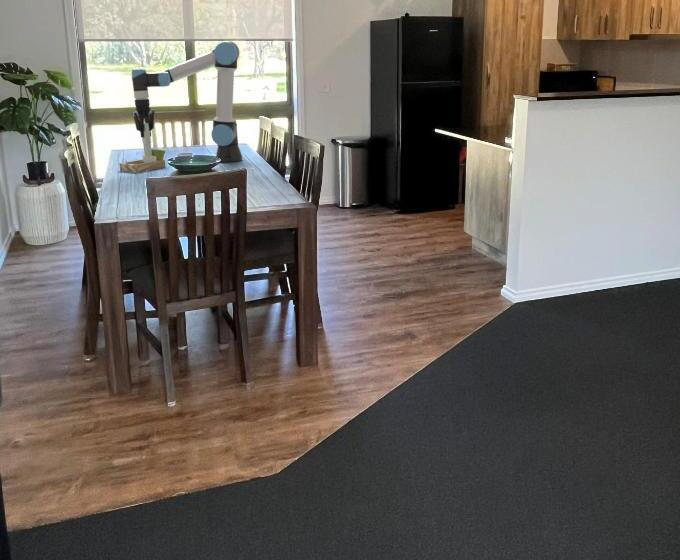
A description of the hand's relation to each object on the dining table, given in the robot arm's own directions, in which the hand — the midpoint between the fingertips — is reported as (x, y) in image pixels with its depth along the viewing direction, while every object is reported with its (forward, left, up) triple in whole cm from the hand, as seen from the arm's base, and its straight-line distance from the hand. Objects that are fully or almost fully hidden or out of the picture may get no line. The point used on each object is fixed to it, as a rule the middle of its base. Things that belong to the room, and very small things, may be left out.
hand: (146, 143), depth 402 cm
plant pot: (0, -4, -13) cm, 14 cm away
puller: (0, -1, -13) cm, 13 cm away
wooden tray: (0, +4, -13) cm, 14 cm away
